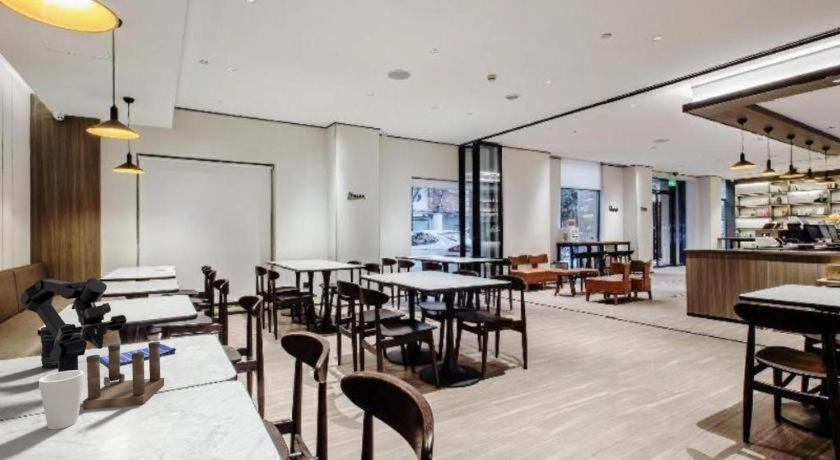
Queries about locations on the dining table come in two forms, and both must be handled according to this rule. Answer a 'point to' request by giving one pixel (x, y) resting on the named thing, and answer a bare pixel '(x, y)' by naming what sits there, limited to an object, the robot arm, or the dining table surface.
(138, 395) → the stool
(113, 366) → the hinged leg
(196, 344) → the dining table surface
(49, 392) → the foam cup
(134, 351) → the dish towel
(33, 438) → the dining table surface
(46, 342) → the storage jar
